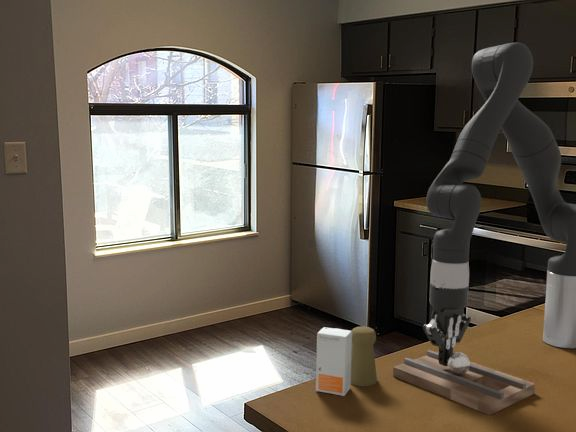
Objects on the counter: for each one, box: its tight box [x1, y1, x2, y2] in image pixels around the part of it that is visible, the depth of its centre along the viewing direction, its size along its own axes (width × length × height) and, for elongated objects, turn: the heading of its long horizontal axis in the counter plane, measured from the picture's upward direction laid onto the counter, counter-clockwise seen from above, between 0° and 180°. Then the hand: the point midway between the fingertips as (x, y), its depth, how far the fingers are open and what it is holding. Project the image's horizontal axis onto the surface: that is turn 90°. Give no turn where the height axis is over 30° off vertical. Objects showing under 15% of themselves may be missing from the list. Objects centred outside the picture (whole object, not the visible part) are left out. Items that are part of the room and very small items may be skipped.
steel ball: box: [447, 351, 471, 375], centre depth 131 cm, size 4×4×4 cm
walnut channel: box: [392, 349, 536, 416], centre depth 131 cm, size 15×23×3 cm, turn 39°
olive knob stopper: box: [351, 325, 378, 387], centre depth 132 cm, size 6×6×11 cm
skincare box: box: [315, 326, 353, 397], centre depth 127 cm, size 6×4×12 cm
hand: (445, 364), depth 133 cm, fingers closed
